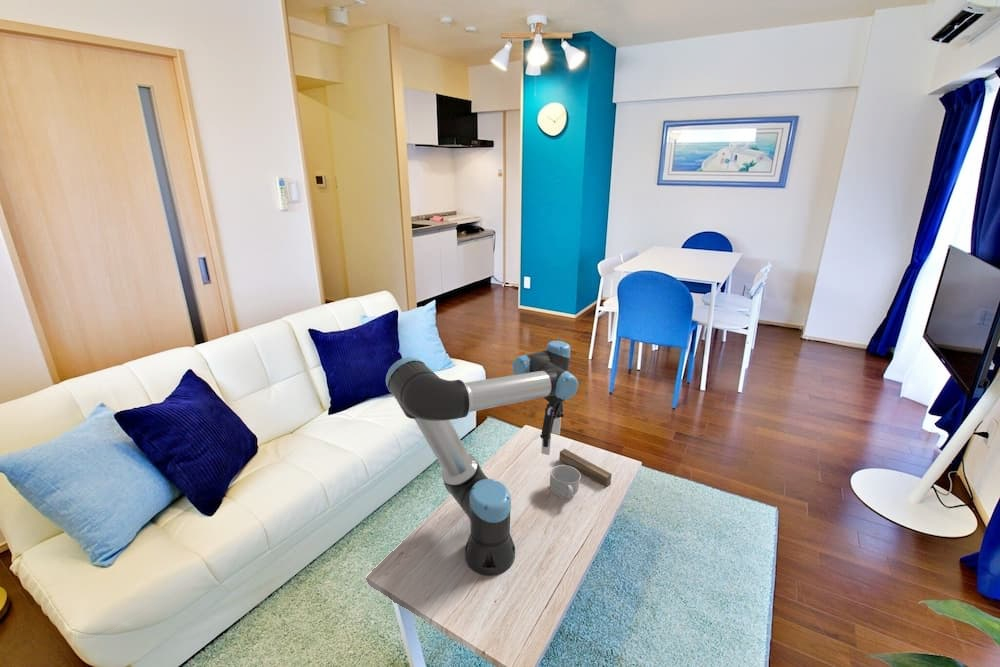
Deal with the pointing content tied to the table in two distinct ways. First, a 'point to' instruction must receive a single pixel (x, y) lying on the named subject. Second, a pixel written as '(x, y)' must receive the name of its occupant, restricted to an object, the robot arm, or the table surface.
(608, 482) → the board
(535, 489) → the table surface
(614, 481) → the table surface
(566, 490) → the teacup
